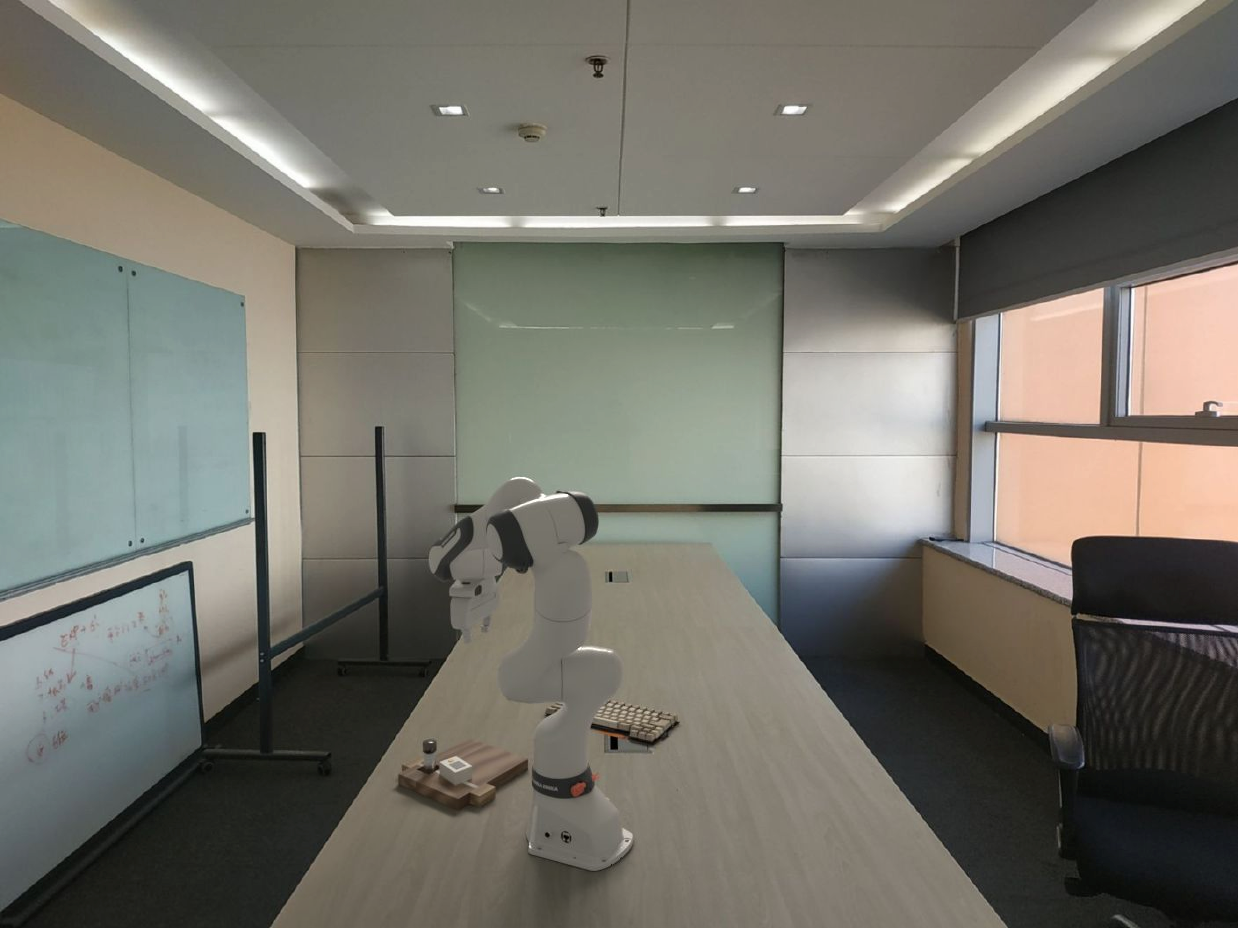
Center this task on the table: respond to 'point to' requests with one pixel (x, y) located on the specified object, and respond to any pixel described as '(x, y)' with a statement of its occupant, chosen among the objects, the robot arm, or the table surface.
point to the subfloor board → (486, 776)
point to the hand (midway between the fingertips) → (477, 637)
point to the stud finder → (455, 770)
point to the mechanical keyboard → (630, 721)
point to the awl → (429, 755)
